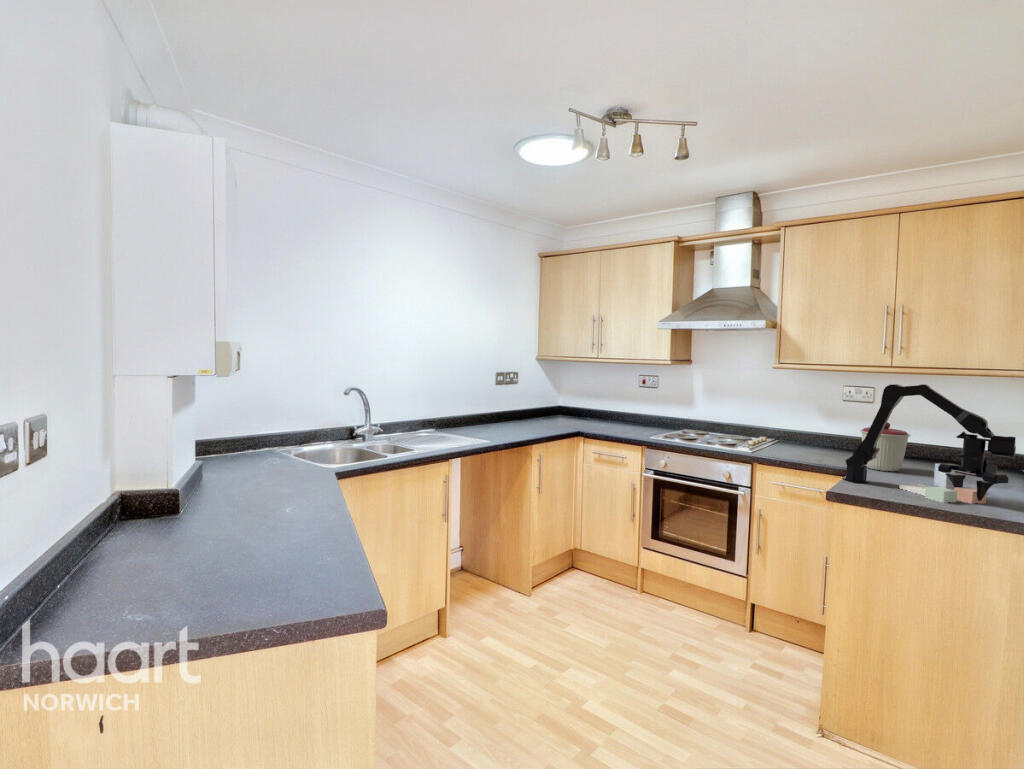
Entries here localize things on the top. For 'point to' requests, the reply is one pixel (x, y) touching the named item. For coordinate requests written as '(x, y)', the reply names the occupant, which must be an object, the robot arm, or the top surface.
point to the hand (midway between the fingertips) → (969, 497)
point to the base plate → (914, 488)
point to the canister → (888, 449)
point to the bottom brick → (968, 495)
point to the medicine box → (942, 479)
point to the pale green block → (941, 494)
